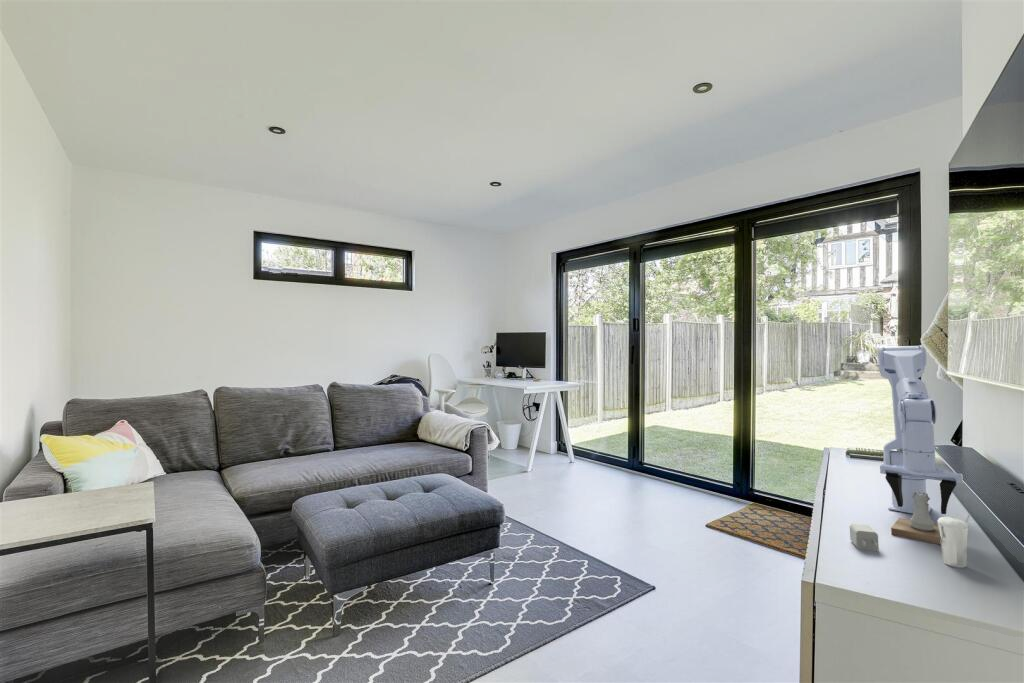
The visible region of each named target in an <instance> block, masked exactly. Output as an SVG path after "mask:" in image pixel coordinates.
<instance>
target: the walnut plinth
mask: <svg viewBox="0 0 1024 683" xmlns="http://www.w3.org/2000/svg"><path fill="white" fill-rule="evenodd" d="M910 523H912V522H911V521H910V519H909V518H903V517H898V518H897V519H896V521H895V522H894V523H893V525H892V526H891V528H890V532H891V535H893V536H898V537H902V538H908V539H912V540H917V541H921V542H926V543H932V544H938V545H941V541H940V535H939V529H938V524H937V523H936V524H935V523H934V525H933V527H935V529H934V530H933V531H922V530H918V529H915V528H913V527H912V526H911V525H910Z"/></svg>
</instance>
